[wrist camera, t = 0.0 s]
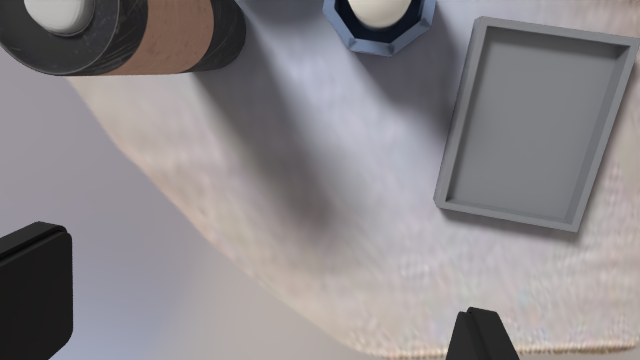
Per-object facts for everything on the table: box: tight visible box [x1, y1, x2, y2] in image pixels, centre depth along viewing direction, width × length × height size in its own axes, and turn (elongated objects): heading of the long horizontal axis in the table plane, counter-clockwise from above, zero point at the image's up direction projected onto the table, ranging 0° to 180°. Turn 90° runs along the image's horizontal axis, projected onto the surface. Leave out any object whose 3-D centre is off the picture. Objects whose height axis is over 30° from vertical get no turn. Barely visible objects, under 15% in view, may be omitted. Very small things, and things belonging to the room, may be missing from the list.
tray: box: [433, 16, 640, 232], centre depth 37 cm, size 16×12×2 cm
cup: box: [322, 0, 436, 57], centre depth 34 cm, size 8×8×6 cm
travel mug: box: [0, 0, 246, 76], centre depth 30 cm, size 8×8×20 cm
